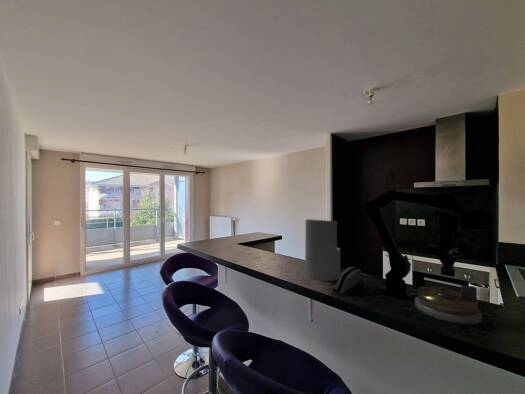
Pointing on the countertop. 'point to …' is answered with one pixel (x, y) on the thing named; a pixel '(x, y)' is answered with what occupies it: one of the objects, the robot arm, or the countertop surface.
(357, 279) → the dark grey curved piece
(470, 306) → the shallow round tray
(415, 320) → the countertop surface
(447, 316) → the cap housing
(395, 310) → the countertop surface
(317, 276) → the cylinder
